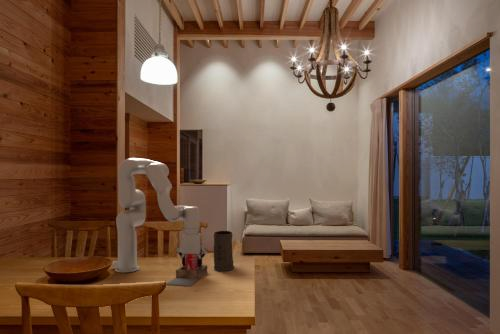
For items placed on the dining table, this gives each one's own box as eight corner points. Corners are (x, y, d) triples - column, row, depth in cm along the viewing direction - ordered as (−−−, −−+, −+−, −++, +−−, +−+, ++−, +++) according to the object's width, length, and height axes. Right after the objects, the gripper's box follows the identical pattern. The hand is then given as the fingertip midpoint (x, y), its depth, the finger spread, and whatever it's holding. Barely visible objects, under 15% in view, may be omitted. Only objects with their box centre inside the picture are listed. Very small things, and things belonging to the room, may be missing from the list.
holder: (176, 278, 182) (176, 270, 183) (185, 271, 194) (185, 264, 194) (199, 279, 180) (199, 271, 180) (207, 273, 191) (207, 265, 192)
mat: (166, 284, 172) (166, 283, 172) (175, 278, 182) (175, 277, 182) (190, 286, 169) (190, 285, 169) (198, 280, 179) (198, 279, 179)
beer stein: (230, 272, 192) (230, 234, 192) (210, 271, 194) (210, 233, 195) (237, 265, 207) (237, 229, 208) (219, 264, 209) (219, 228, 210)
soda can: (185, 273, 190) (185, 250, 190) (199, 273, 191) (199, 250, 191) (184, 277, 183) (184, 253, 183) (198, 277, 184) (198, 253, 184)
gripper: (172, 231, 186) (172, 266, 185) (205, 232, 182) (205, 268, 181) (178, 229, 193) (179, 263, 193) (210, 230, 189) (210, 265, 189)
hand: (192, 265), depth 187 cm, fingers open, 7 cm apart
